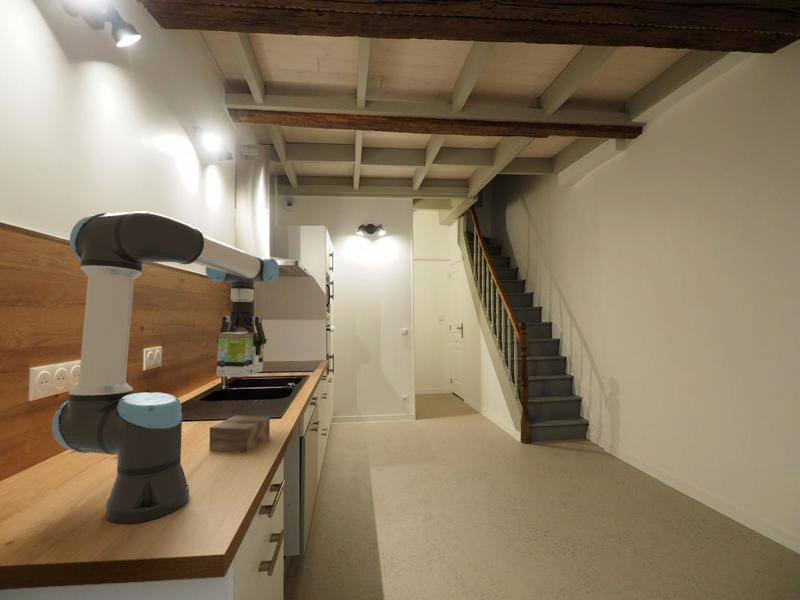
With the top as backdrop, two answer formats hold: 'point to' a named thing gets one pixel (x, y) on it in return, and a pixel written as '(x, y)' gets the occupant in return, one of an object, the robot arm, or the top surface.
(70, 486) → the top surface
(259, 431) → the walnut riser
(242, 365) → the tea box
